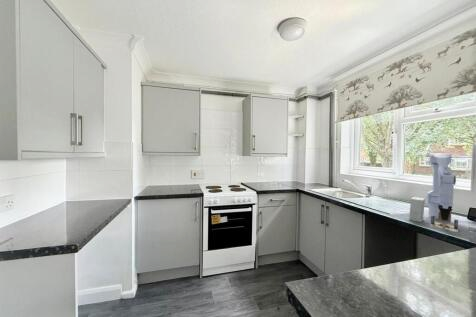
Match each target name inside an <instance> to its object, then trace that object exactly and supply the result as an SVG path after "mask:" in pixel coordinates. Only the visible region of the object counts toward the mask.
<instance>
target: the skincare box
mask: <svg viewBox="0 0 476 317" xmlns="http://www.w3.org/2000/svg"><path fill="white" fill-rule="evenodd" d="M425 201H426V198H423V197H417V196H413V197H412V198H410V207H409V216H408V218H409V219H408V220H409V221H413V222H418V223H419V222H420V223H422V222H423V220H424V214H425V203H426V202H425Z"/></svg>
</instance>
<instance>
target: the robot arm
mask: <svg viewBox="0 0 476 317" xmlns="http://www.w3.org/2000/svg"><path fill="white" fill-rule="evenodd" d="M428 157H429V158H428V164H429V166H431V167H432V169H433V174H432V190H430V191H428V192H427V193H426V198H425V201H426V202H425V203H426V204H427V205H428V211H427V212H428V214H427V215H428V217H429V218H431V216H435V220H438V216H439V211H440V213H441V218H442V220H448V217H449V214H450V213H451V212H452V211H453V206H454V202H453V201H454V190H455V189H454V187H455V185H456V184H457V177H456V174H454V173H453V171H452V168H451V167H449V165H450V164H451V162H452V159H453V158H452V154H451V153H433V152H431V153H430V154H429V156H428Z"/></svg>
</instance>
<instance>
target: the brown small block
mask: <svg viewBox="0 0 476 317" xmlns="http://www.w3.org/2000/svg"><path fill="white" fill-rule="evenodd" d="M437 220H438V221H440V222H447V223H451V221H452V213H451V212H450V214H449V217H448V220H442V218H441V213H440V211H439V216H438V219H437Z"/></svg>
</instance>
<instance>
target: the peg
mask: <svg viewBox="0 0 476 317" xmlns="http://www.w3.org/2000/svg"><path fill="white" fill-rule="evenodd" d="M441 223H442V227H439V228H438V229H440V228H441V229H440V230H444V229H445V231H449V228H446V224H447V223H445V222H441Z"/></svg>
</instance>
